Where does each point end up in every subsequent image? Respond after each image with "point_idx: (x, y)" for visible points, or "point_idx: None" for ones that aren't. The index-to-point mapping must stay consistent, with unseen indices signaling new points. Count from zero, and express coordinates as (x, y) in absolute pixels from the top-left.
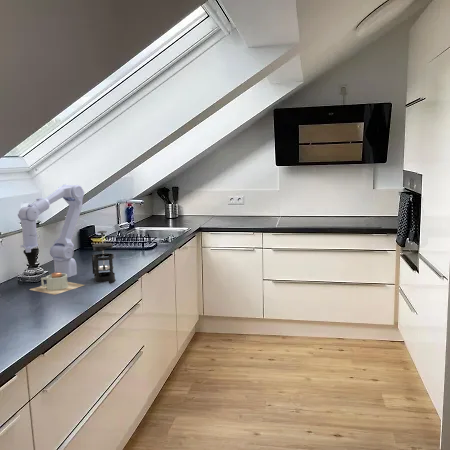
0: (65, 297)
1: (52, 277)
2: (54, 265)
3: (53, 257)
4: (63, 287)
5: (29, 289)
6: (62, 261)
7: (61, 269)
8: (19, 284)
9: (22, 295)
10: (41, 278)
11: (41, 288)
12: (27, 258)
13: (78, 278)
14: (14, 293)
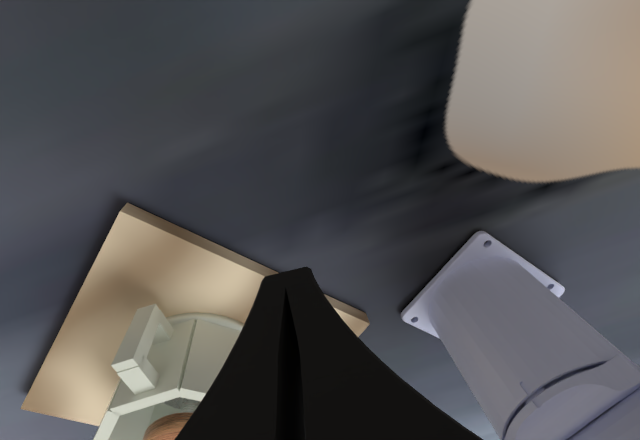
0: (40, 436)
1: (150, 427)
2: (529, 334)
3: (629, 383)
4: (164, 410)
5: (120, 213)
6: (501, 437)
7: (462, 364)
8: (380, 9)
9: (11, 187)
10: (113, 366)
11: (160, 287)
12: (214, 389)
13: (443, 366)
14: (55, 87)
